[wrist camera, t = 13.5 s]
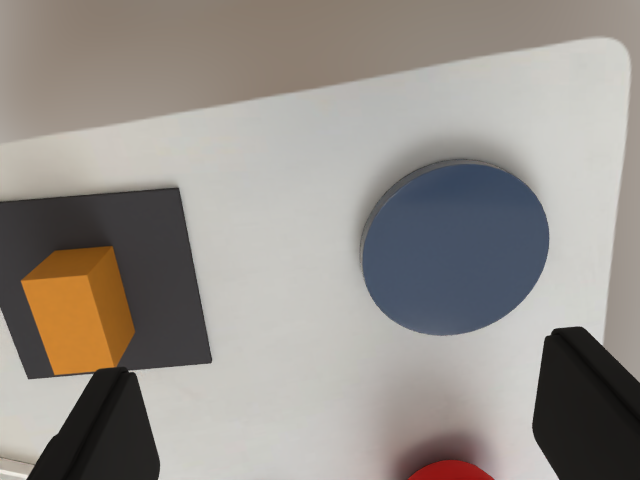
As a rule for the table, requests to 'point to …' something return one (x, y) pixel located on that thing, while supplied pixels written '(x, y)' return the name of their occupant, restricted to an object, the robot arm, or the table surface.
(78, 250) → the block
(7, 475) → the tray
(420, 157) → the table surface
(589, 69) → the table surface
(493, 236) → the plate
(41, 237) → the mat
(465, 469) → the tomato
